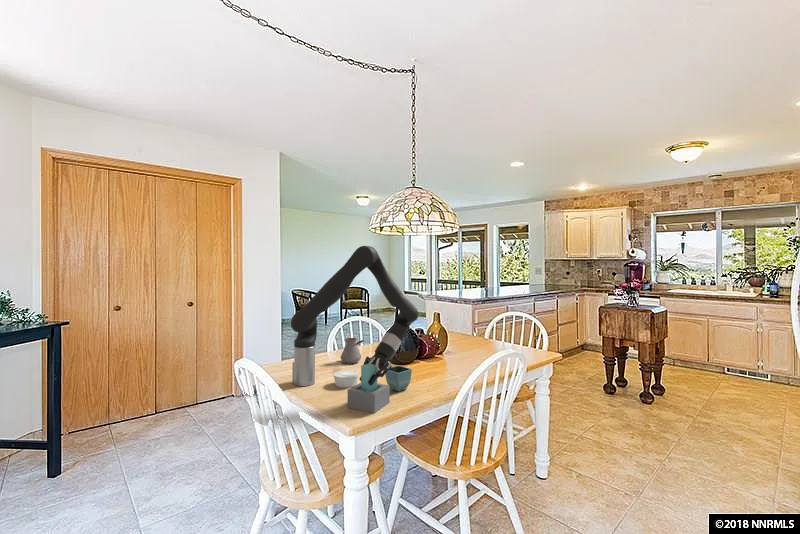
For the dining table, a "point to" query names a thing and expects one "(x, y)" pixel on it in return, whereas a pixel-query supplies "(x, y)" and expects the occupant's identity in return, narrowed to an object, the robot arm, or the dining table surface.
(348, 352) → the coffee pot
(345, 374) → the ramekin
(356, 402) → the box
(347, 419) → the dining table surface
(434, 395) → the dining table surface
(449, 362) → the dining table surface
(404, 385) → the flower pot
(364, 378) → the teal post
